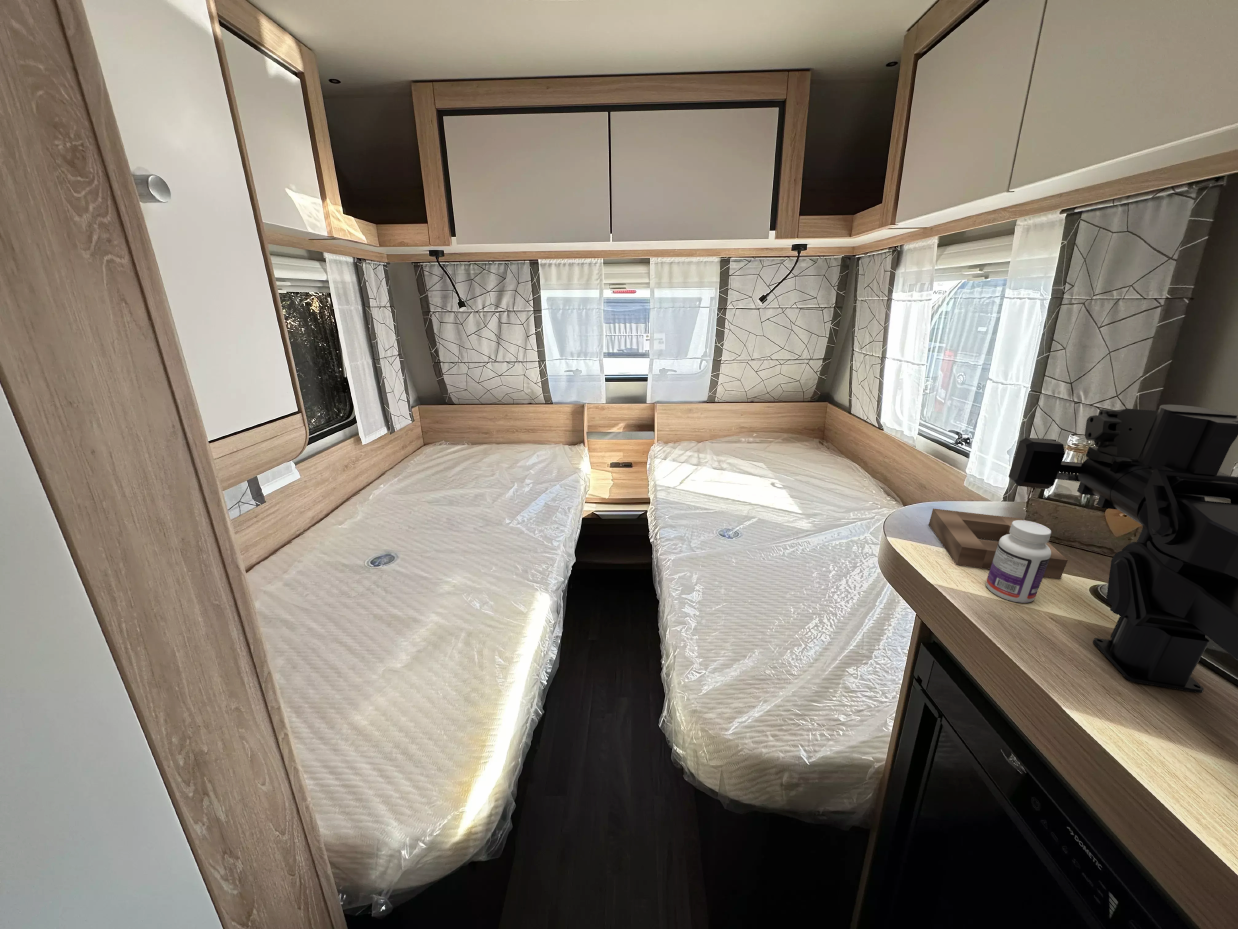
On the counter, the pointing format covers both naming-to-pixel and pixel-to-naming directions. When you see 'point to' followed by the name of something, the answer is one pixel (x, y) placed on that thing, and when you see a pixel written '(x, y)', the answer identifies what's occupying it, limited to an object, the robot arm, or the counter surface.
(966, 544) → the walnut holder
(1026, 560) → the pill bottle
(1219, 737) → the counter surface
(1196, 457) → the robot arm
